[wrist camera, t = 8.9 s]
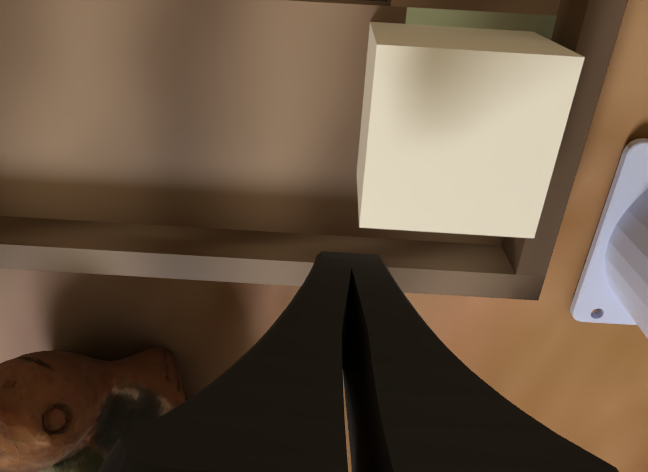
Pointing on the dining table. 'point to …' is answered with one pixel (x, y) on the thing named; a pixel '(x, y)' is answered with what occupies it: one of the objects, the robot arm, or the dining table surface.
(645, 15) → the dining table surface
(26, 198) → the trap box
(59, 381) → the decorative turtle
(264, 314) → the dining table surface
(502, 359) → the dining table surface
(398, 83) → the cream block
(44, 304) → the dining table surface
